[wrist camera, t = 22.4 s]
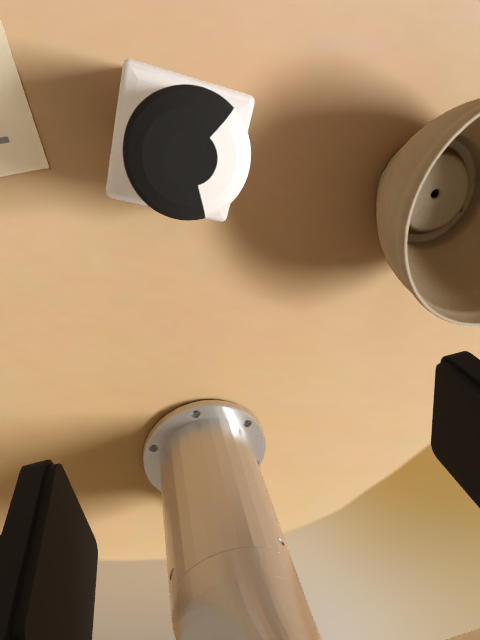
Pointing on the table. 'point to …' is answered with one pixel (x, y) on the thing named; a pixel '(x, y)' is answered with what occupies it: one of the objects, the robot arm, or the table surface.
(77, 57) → the table surface
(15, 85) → the letter
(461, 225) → the planter bowl
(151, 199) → the container
